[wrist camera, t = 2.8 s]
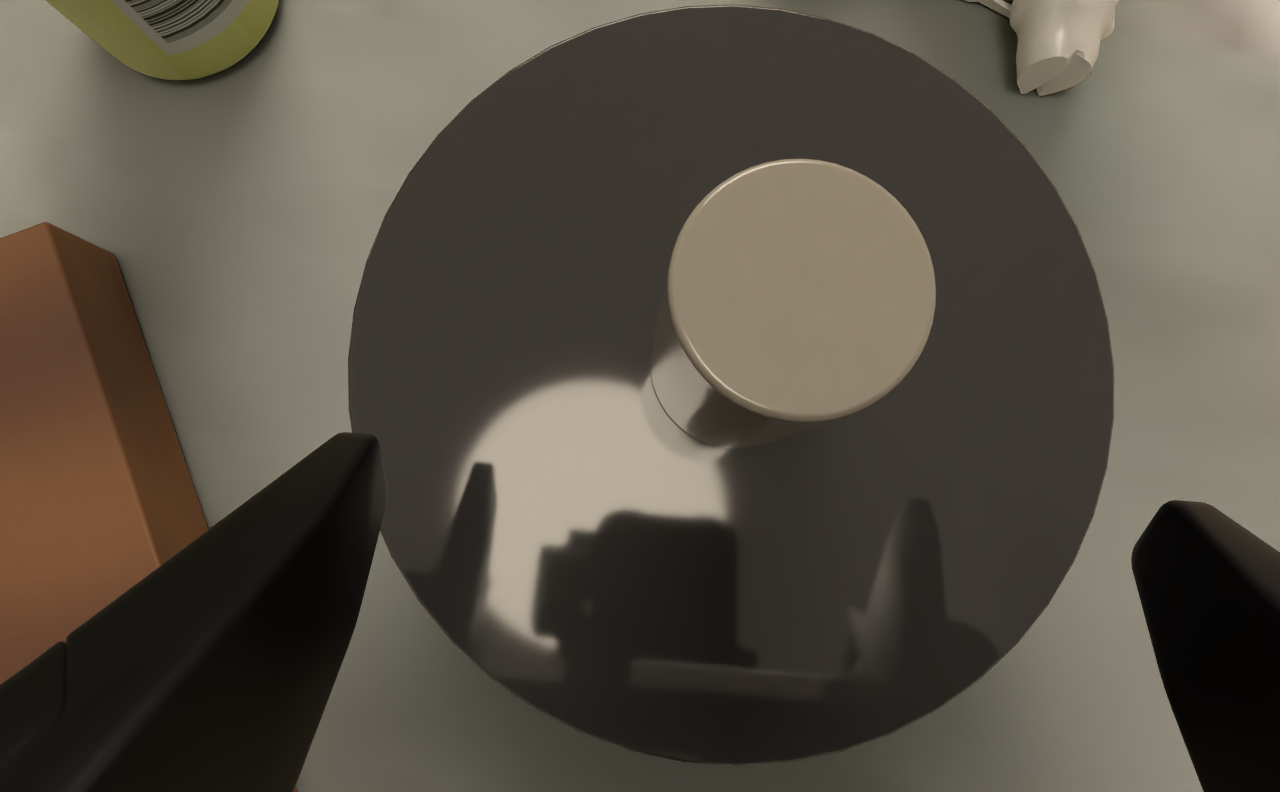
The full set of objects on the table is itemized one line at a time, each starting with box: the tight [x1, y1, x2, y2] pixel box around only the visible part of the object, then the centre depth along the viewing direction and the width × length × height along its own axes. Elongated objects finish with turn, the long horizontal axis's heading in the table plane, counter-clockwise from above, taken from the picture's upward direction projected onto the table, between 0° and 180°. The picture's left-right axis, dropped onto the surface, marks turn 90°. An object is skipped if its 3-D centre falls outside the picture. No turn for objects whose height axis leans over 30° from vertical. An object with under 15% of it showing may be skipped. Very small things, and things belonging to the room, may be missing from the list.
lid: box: [348, 5, 1114, 766], centre depth 11 cm, size 13×13×6 cm
